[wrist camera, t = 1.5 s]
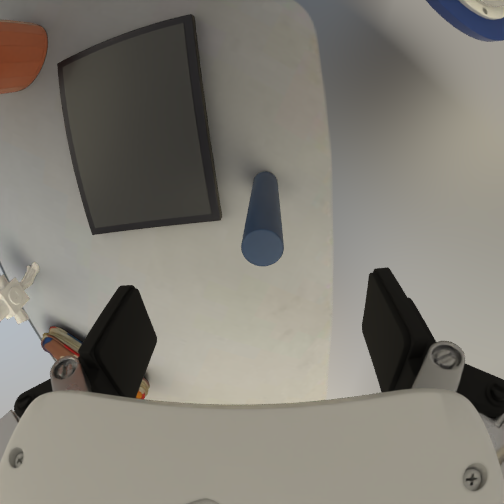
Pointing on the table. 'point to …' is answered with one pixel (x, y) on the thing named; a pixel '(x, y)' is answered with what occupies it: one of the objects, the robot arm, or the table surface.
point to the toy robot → (16, 295)
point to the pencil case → (74, 351)
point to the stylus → (263, 223)
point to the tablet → (140, 129)
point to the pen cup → (20, 54)
